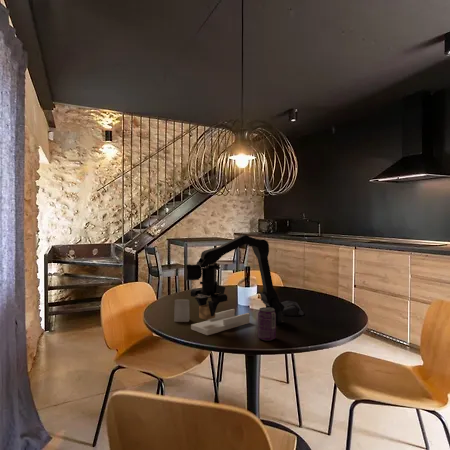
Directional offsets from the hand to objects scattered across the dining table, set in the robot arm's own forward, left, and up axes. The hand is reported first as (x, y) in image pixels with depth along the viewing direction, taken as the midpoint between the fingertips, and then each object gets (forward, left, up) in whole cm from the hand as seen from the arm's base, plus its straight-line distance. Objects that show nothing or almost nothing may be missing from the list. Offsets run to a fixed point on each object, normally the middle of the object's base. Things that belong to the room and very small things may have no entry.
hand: (208, 314), depth 150 cm
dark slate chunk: (-4, -53, -7) cm, 53 cm away
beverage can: (-25, -10, -7) cm, 28 cm away
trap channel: (0, -8, -6) cm, 10 cm away
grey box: (+19, 0, -7) cm, 20 cm away
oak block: (0, +1, -1) cm, 1 cm away
